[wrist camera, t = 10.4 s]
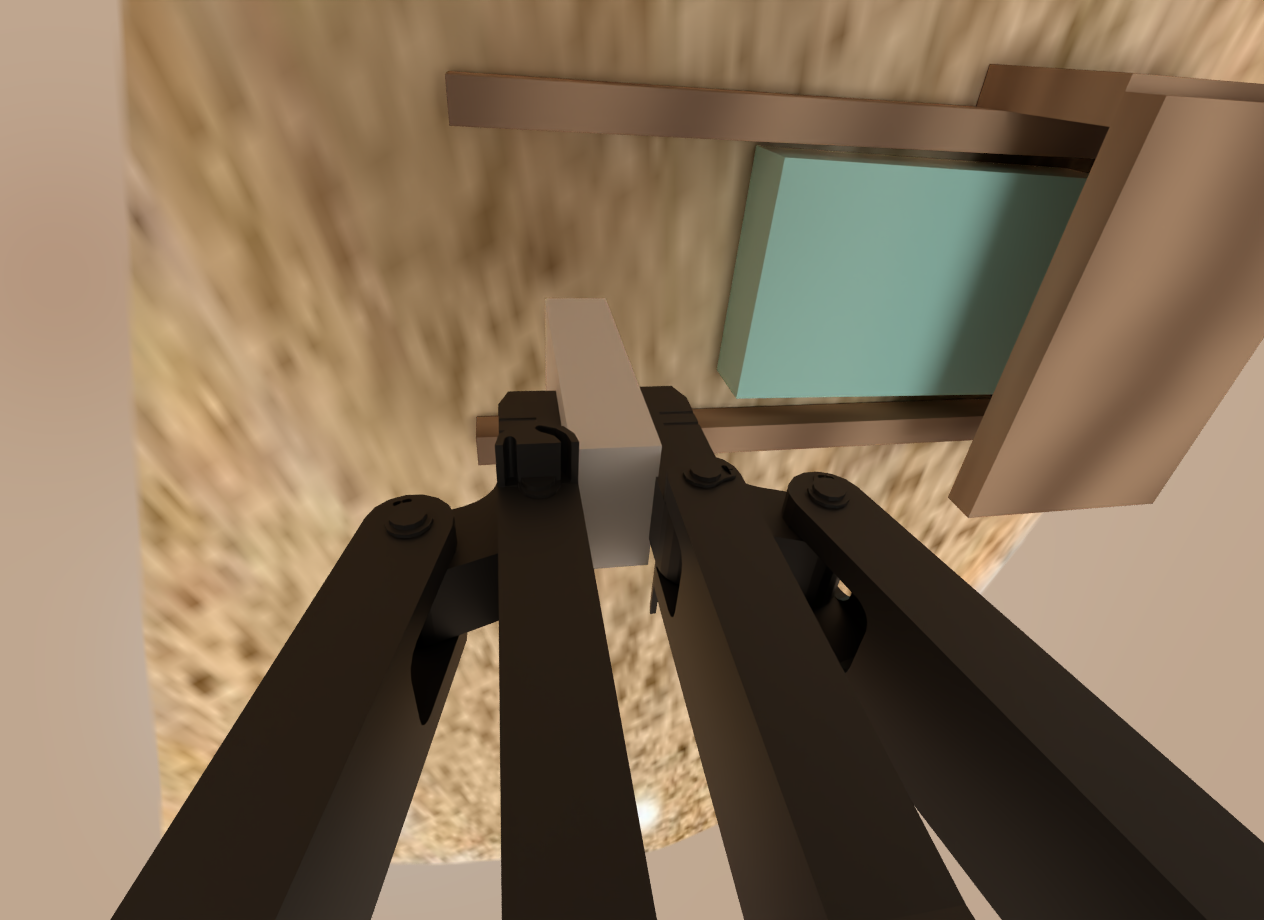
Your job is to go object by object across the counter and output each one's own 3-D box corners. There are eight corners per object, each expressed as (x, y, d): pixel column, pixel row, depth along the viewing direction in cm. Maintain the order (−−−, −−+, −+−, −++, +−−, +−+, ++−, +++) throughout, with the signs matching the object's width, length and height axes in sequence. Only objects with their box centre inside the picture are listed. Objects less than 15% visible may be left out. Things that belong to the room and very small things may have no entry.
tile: (713, 364, 25) (736, 398, 23) (751, 143, 21) (784, 157, 18) (972, 363, 27) (1016, 393, 25) (1056, 165, 23) (1119, 180, 21)
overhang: (478, 443, 24) (476, 561, 19) (443, 18, 17) (423, 12, 11) (1026, 419, 29) (1149, 507, 24) (1190, 80, 22) (1424, 96, 16)
